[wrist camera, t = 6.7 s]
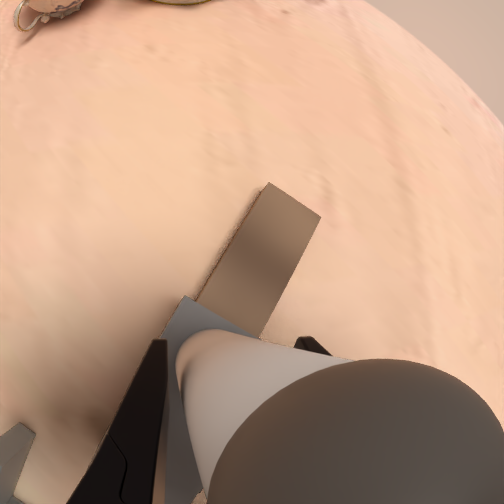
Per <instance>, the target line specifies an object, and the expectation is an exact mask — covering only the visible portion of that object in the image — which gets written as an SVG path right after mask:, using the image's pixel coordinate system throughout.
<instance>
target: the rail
mask: <svg viewBox="0 0 504 504" xmlns="http://www.w3.org/2000/svg"><path fill="white" fill-rule="evenodd" d="M320 219H321V217H320V216H319V215H317V214H316V213H314V212H313V211H312V210H310V209H309V208H307V207H306V206H304V205H303V204H301V203H300V202H298V201H297V200H295V199H294V198H292V197H291V196H289V195H288V194H286V193H285V192H283V191H282V190H280V189H279V188H277V187H276V186H274V185H273V184H271V183H270V182H269V183H268V184H267V185H266V186H265V188H264V189H263V190H262V191H261V193H260V195H259V196H258V198H257V199H256V201H255V203H254V204H253V206H252V208H251V209H250V211H249V212H248V214H247V216H246V217H245V219H244V221H243V222H242V224H241V226H240V227H239V229H238V230H237V232H236V234H235V235H234V237H233V239H232V240H231V242H230V244H229V245H228V247H227V249H226V250H225V252H224V254H223V255H222V257H221V259H220V260H219V262H218V264H217V265H216V267H215V269H214V270H213V272H212V274H211V275H210V277H209V279H208V280H207V282H206V284H205V285H204V287H203V289H202V290H201V292H200V294H199V296H198V297H197V299H196V301H195V302H197V303H199V304H200V305H202V306H204V307H205V308H207V309H209V310H210V311H212V312H214V313H215V314H217V315H219V316H220V317H222V318H224V319H226V320H227V321H229V322H231V323H232V324H234V325H236V326H238V327H239V328H241V329H243V330H245V331H246V332H248V333H250V334H252V335H254V336H255V337H257V338H259V336H260V334H261V332H262V330H263V329H264V327H265V325H266V323H267V321H268V319H269V317H270V316H271V314H272V312H273V310H274V308H275V306H276V304H277V303H278V301H279V299H280V297H281V295H282V293H283V291H284V289H285V287H286V286H287V284H288V282H289V280H290V278H291V276H292V274H293V272H294V270H295V268H296V266H297V264H298V262H299V261H300V259H301V257H302V255H303V253H304V251H305V249H306V247H307V245H308V243H309V241H310V239H311V237H312V235H313V233H314V231H315V229H316V227H317V225H318V223H319V221H320Z"/></svg>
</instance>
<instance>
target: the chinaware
mask: <svg viewBox="0 0 504 504" xmlns="http://www.w3.org/2000/svg"><path fill="white" fill-rule="evenodd" d="M82 1H84V0H23V1H22V2H21V3H20V4H19V5H18V7H17V8H16V10H15V13H14V25H15V27H16V29H17V30H18V31H21V32H26V31H29V30H30V29H32V28H33V27H34V25H35V24H36V22H37V21H38V19H39V18H40V17H41V22H43V23H47V22H48V21H49V19H50V16H53V17H60V18H61V19H62V18H63V17H64V16H67V15H69V14H71V13H73V12H75V11H78V10H81V9H79V8H80V6H81V2H82ZM151 1H154V2H157V3H162V4H169V5H192V4H199V3H204V2H208V1H210V0H151ZM22 6H25V7H27V6H29V7H31V8H32V9H34V10H36V11H38V12H41V13H43V14H40V15H38V16H37V17H36V18H35V20H34V21H33V22H32V24H31V25H30V26H29V27H27V28H25V29H23V28H21V27H20V25H19V14H20V10H21V8H22ZM46 13H50V14H46Z"/></svg>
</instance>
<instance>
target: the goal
mask: <svg viewBox="0 0 504 504" xmlns="http://www.w3.org/2000/svg"><path fill="white" fill-rule="evenodd" d="M35 436H36V434H35V433H33V432H32V431H30V430H29V429H28V428H26V427H25V426H24V425H23V424H21V423H20V422H19V423H18V424H17V425H15V426H14V427H13V428H11V429H10V430H9V431H7V432H6V433H5V434H3V435H2V436H1V437H0V504H24V503H22V502H21V501H20V500H18V499H17V498H15V497H14V496H13V493H14V490H15V487H16V484H17V482H18V479H19V476H20V473H21V471H22V468H23V465H24V463H25V460H26V458H27V455H28V453H29V450H30V448H31V445H32V443H33V440H34V438H35Z"/></svg>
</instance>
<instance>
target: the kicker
mask: <svg viewBox="0 0 504 504" xmlns="http://www.w3.org/2000/svg"><path fill="white" fill-rule="evenodd" d="M159 338H165V339H167V340H168V370H169V403H170V411H169V427H168V441H167V458H166V478H165V504H191V503H192V501H193V500H194V498H195V497H196V495H197V494H198V493H200V492H201V490H202V489H203V488H204V492H205V495H206V499H207V504H504V432H503V429H502V427H501V424H500V422H499V421H498V419H497V418H496V416H495V414H494V413H493V411H492V410H491V408H490V407H489V406H488V404H487V403H486V402H485V401H484V400H483V399H482V398H481V397H480V396H479V395H478V394H477V393H476V392H475V391H474V390H473V389H471V388H470V387H469V386H468V385H466V384H465V383H463V382H462V381H460V380H459V379H457V378H456V377H454V376H452V375H450V374H448V373H446V372H443V371H441V370H439V369H436V368H434V367H431V366H427V365H424V364H420V363H415V362H411V361H406V360H394V359H369V360H359V361H353V360H348V359H343V358H338V357H333V356H328V355H323V354H318V353H314V352H309V351H305V350H300V349H296V348H292V347H287V346H283V345H279V344H275V343H271V342H267V341H263V340H261V339H259V338H257V337H255V336H254V335H252V334H250V333H248V332H246V331H245V330H243V329H241V328H239V327H238V326H236V325H234V324H232V323H231V322H229V321H227V320H226V319H224V318H222V317H220V316H219V315H217V314H215V313H214V312H212V311H210V310H209V309H207V308H205V307H204V306H202V305H200V304H199V303H197V302H195V301H194V300H192V299H190V298H189V297H187V296H184V297H183V298H182V300H181V301H180V303H179V305H178V306H177V308H176V310H175V311H174V313H173V315H172V317H171V318H170V320H169V322H168V323H167V325H166V327H165V328H164V330H163V332H162V334H161V335H160V337H159ZM110 425H111V424H110ZM110 425H109V427H110ZM109 427H108V429H109ZM108 429H107V431H108ZM107 431H106V433H105V435H106V434H108V433H107ZM105 435H104V437H105ZM104 437H103V438H102V440H101V442H100V444H99V446H98V448H97V450H96V452H95V454H94V456H93V458H92V461H93V460H94V458H95V456H96V454H97V452H98V450H99V448H100V446H101V444H102V441H103V439H104ZM92 461H91V463H92ZM91 463H90V465H91ZM90 465H89V466H90ZM88 468H89V467H88ZM87 470H88V469H87Z"/></svg>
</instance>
